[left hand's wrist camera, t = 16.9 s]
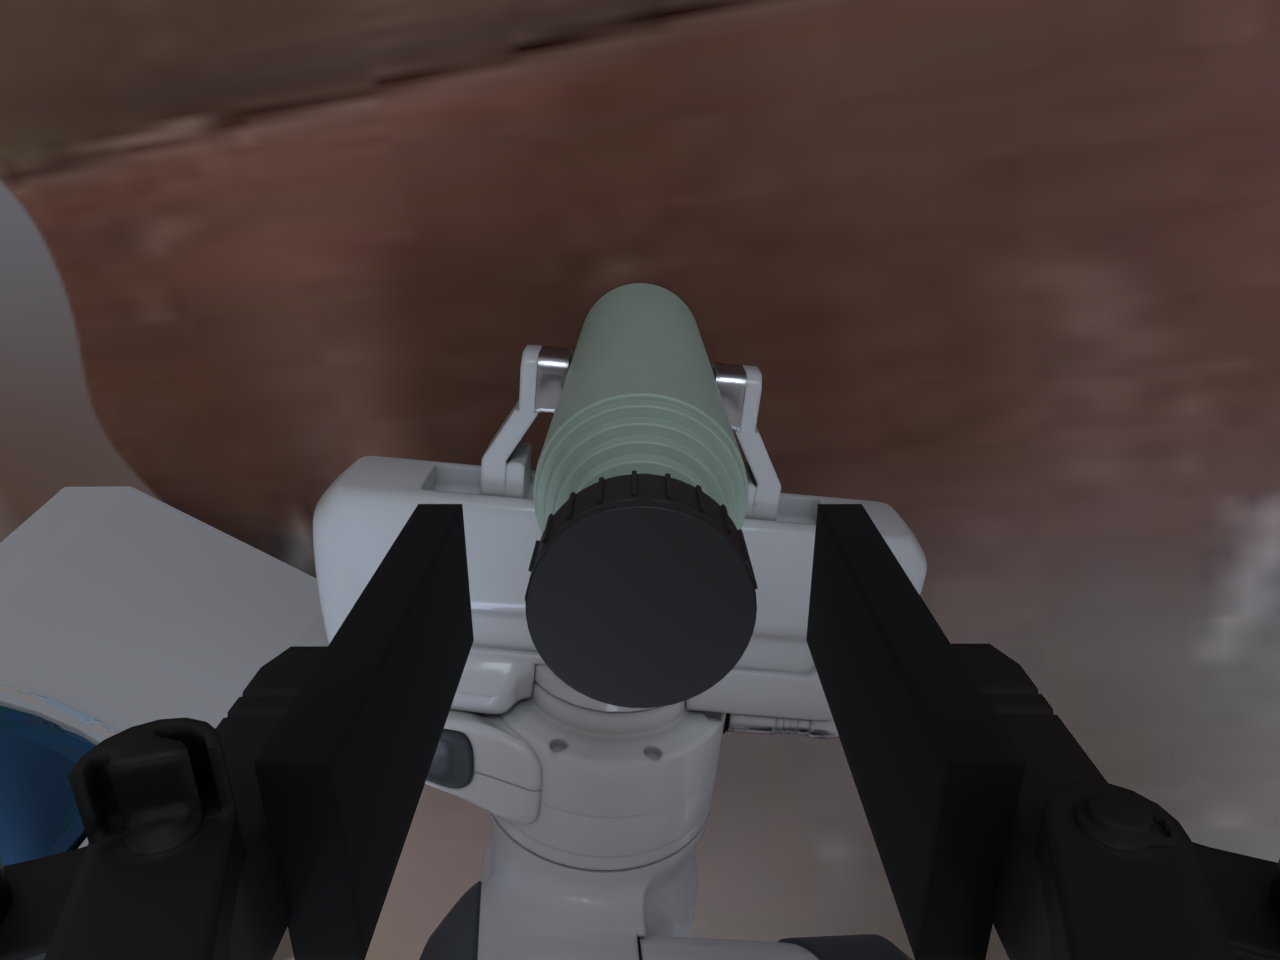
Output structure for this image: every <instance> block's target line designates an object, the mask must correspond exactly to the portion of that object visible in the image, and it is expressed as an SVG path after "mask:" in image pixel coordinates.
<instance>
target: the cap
mask: <svg viewBox="0 0 1280 960" xmlns="http://www.w3.org/2000/svg"><path fill="white" fill-rule="evenodd" d="M528 571H531V575H530V579H529V582H528V586H527V590H526V594H525V601H526V619H527V625H528V630H529V633H530V636H531V639H532V642H533V644H534V646H535V648H536V650H537V652H538V654H539V655H540V656H541V658H542V659H543V661H544V662H545V664H546V665H547V666H548V667H549V669H550V670H551V671H552V672H553V673H554V674H555V675H556V676H557V677H558V678H559V679H561V680H562V681H563V682H564V683H565V684H567V685H568V686H570V687H571V688H573V689H574V690H576V691H577V692H579V693H581V694H583V695H585V696H587V697H589V698H591V699H594V700H597V701H600V702H602V703H606V704H610V705H614V706H619V707H627V708H656V707H663V706H668V705H673V704H676V703H679V702H683V701H686V700H688V699H691V698H693V697H695V696H697V695H700V694H701V693H703V692H705V691H706V690H708V689H710V688H711V687H713V686H714V685H715V684H717V683H718V682H719V681H721V680H722V679H723V678H724V677H725V676H726V675H727V674H728V673H729V672H730V671H731V670H732V669H733V668H734V667H735V665H736V664H737V663H738V661H739V660H740V659H741V657H742V655H743V654H744V652H745V650H746V648H747V647H748V644H749V642H750V639H751V637H752V634H753V631H754V626H755V622H756V613H757V600H756V591H755V589H757V583H756V579H755V575H754V572H753V568H752V564H751V561H750V557H749V553H748V550H747V546H746V542H745V539H744V535H743V532H742V530H741V529H739V530H737V528H736V526H735V524H734V522H733V521H732V519H731V518H730V517H729V515H728V512H727V508H726V506H725V505H724V504H722V505H721V506H720V505H719V504H718V503H717V502H716V501H715V500H714V499H712V498H711V497H710V496H708V495H707V494H706V493H704V492H703V491H702V488H701V486H699V485H697V486H696V487H694V486H692V485H690V484H687V483H685V482H683V481H681V480H678V479H674V478H671V475H670V474H668V473H666V474H665V476H660V475H653V474H644V473H642V474H637V471H632V474H630V475H621V476H615V477H612V478H608V479H604V477H600V478H599V481H598V482H597V483H594V484H592V485H590V486H588V487H587V488H585V489H582V490H581V491H579V492H578V493H577V494H576V493H575V492H574V491H573V492H572V493H571V494H570V497H569V500H568V501H567V502H565V503H564V504H563V505H562V506H561V507H560V508H559V509H558V511H557V512H556V513H555V514H554V515H553V514H551V513H550V515H549V516H548V520H547V524H546V528H545V530H544V532H543V534H542V537H541V539H540V541H538V540H536V543H535V547H534V550H533V554H532V558H531V562H530V565H529V569H528Z"/></svg>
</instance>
